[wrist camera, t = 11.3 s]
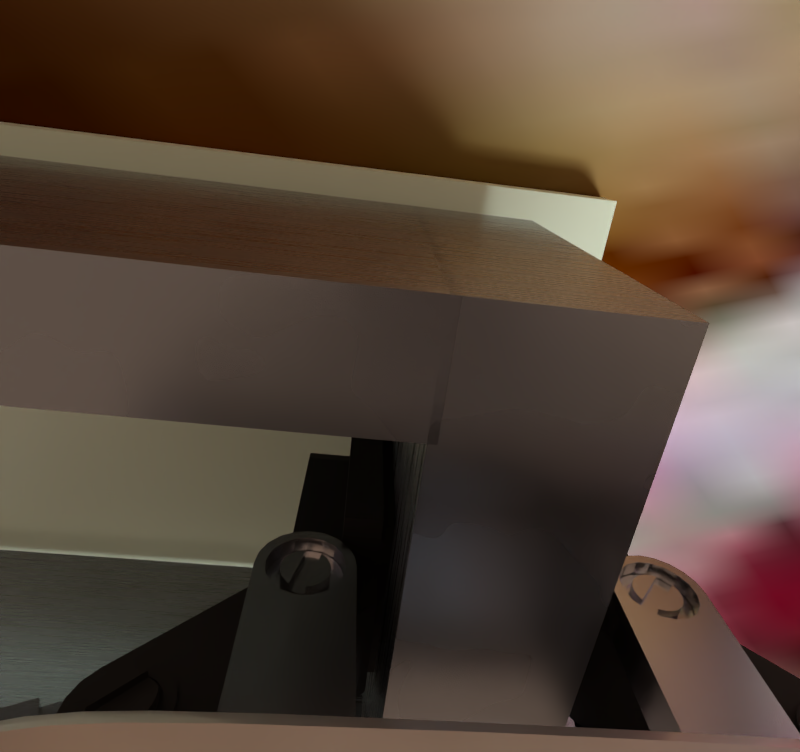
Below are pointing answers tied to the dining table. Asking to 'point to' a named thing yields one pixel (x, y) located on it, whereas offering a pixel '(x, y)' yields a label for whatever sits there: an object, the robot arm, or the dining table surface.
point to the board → (202, 443)
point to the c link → (347, 414)
